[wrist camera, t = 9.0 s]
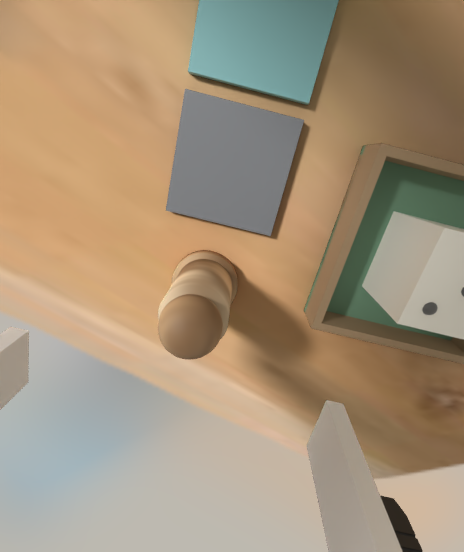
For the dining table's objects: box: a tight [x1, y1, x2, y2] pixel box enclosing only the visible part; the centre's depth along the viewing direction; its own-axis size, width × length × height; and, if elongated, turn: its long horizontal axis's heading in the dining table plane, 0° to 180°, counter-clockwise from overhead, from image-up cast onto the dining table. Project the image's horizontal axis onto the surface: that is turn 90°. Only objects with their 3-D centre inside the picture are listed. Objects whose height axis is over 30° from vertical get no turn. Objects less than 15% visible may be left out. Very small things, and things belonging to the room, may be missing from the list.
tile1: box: [166, 89, 304, 236], centre depth 22 cm, size 8×8×1 cm
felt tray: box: [304, 143, 464, 364], centre depth 22 cm, size 13×13×3 cm
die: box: [362, 211, 464, 340], centre depth 20 cm, size 6×6×6 cm
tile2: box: [188, 0, 339, 105], centre depth 18 cm, size 8×8×1 cm
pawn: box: [158, 250, 238, 359], centre depth 21 cm, size 5×5×9 cm
